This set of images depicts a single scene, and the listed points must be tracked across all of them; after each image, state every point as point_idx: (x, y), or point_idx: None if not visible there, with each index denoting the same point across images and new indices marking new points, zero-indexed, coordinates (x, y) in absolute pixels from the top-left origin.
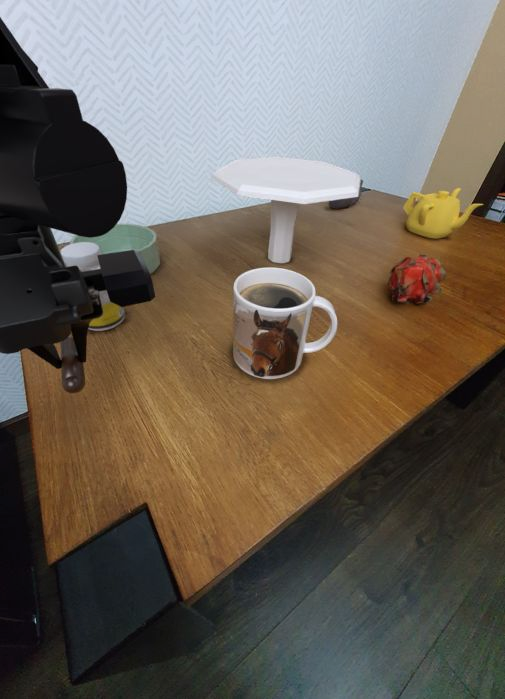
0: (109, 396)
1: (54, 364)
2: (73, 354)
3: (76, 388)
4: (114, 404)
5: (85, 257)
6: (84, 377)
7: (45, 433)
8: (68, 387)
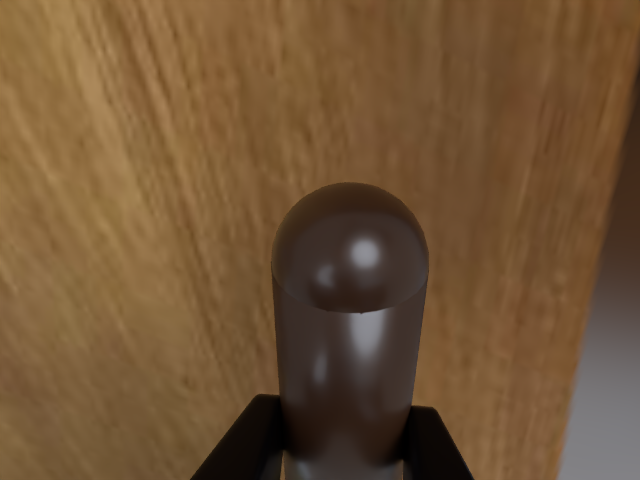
0: (281, 199)
1: (439, 448)
2: (313, 473)
3: (333, 200)
4: (263, 144)
5: None
6: (272, 278)
7: (589, 112)
8: (383, 226)
